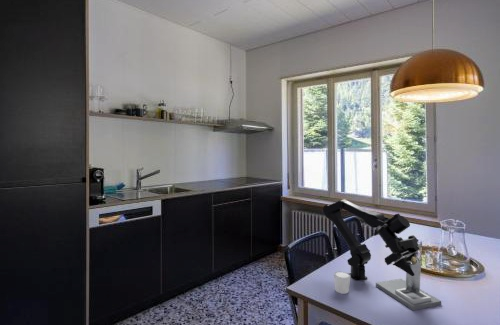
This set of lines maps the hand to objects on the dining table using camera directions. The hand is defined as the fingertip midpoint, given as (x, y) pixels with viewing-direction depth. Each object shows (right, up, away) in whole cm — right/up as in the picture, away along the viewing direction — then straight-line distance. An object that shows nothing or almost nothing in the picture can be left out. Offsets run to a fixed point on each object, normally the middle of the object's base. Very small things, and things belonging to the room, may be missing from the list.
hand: (416, 273), depth 114 cm
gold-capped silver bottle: (-1, -7, +2) cm, 7 cm away
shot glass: (-27, -11, +9) cm, 31 cm away
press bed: (-1, -11, +6) cm, 12 cm away
